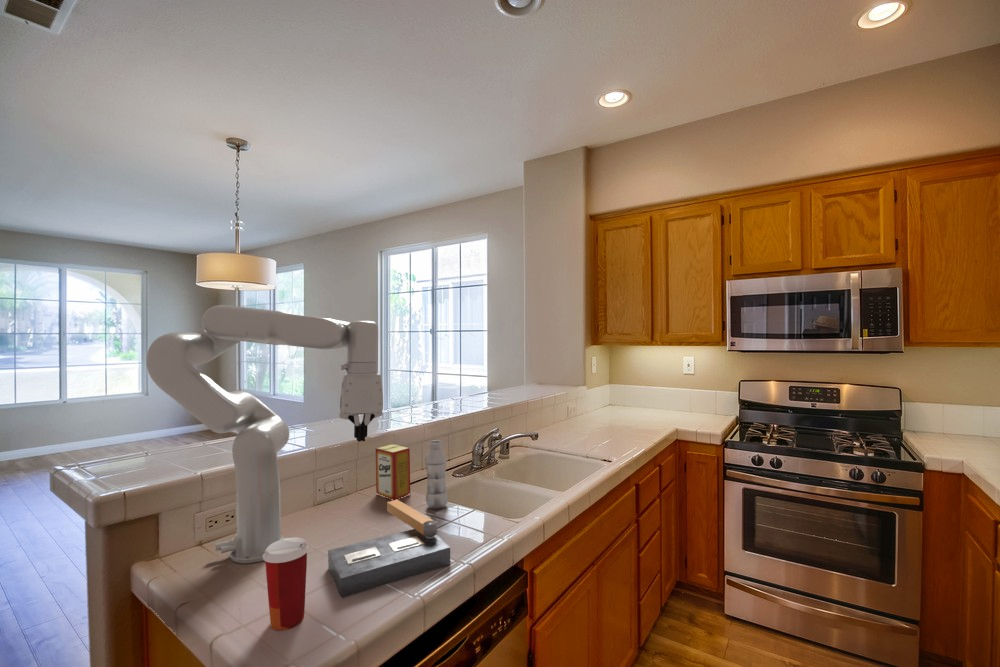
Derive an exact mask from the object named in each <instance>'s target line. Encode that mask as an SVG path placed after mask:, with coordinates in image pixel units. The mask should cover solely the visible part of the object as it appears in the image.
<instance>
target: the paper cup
mask: <svg viewBox="0 0 1000 667" xmlns="http://www.w3.org/2000/svg"><path fill="white" fill-rule="evenodd" d="M285 538H286V537H285ZM307 543H308V542H307V541H306V539H304V538H301V537H287V538H286V539H282V540H279V541H276V542H274V543H272V544H271V545H269V546H268V547H267V549H266V550H265V553H264V554H263V559H264V562H265V574H266V575H265V576H266V584H267V585H266V586H267V596H268V597H267V598H268V600H267V601H268V609H269V620H270V622H269V623H270V627H271V629H272V630H275V631H280V632H281V631H287V630H291V629H293V628H295V627H297V626H298V625H300V624H301V623H302V622H303V620H304V619H305V606H306V584H307V568H308V566H307V564H308V562H307V561H308V552H309V550H310V546H309V545H308V544H307Z"/></svg>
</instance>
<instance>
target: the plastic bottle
mask: <svg viewBox="0 0 1000 667" xmlns="http://www.w3.org/2000/svg"><path fill="white" fill-rule="evenodd" d="M428 448H429V451H428V452H427V453H426V455H425V458H424V463H425V468H426V469H425V470H426V477H427V479H426V480H427V485H426V487H427V488H426V496H425V501H426V506H428V508H430V509H433V510H434V509H435V510H436V509H437V510H438V509H443V508H445V507H446V506H447V504H448V499H449V497H448V491H447V484H446V469H447V455H446V454H445V452H444V451H443V450H442V448H443V443H442V441H441V440H431V441H429V447H428Z"/></svg>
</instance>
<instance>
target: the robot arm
mask: <svg viewBox="0 0 1000 667" xmlns="http://www.w3.org/2000/svg"><path fill="white" fill-rule="evenodd" d="M240 342H244V343H245V342H246V343H247V342H248V343H255V344H265V345H273V346H282V345H283V346H288V347H289V346H290V347H297V348H307V349H308V348H309V349H318V350H334V349H344V348H346V349H347V351H346V352H347V356H346V363H344V364H341V365H340V370H341V371H346V373H344V375H343V378H342V383H341V389H340V400H339V409H340V411H339V414H338V417H339V418H340V419H342V420H348V421H350V422H351V423H352V424H353V425H354V429H353V432H354V433H353V436H354V439H356V441H357V442H359V443H360V442H365V441H366V438H368V428H369V427H368V425H369V424H370V423H371V422H372V421H373V420H374V419H375V418H376V419H377V418H379V417H382V416H383V408H384V393H383V390H384V389H383V382H382V376H381V373H378V357H379V356H378V355H379V354H378V352H379V349H378V348H379V325H378V324H377V323H376V322H375V321H371V320H353V321H344V320H339V319H334V318H327V317H316V316H311V315H310V316H309V315H308V316H307V315H300V314H292V313H291V314H290V313H286V312H283V311H280V310H273V309H272V310H271V309H263V308H253V307H247V306H246V307H245V306H238V305H237V306H236V305H228V304H218V305H213V306H211V307H209V308H208V309H207V310H205V312H204V314H203V315H202V318H201V328H199V329H197V330H196V331H195V332H185V331H184V332H183V331H178V332H177V331H176V332H170V333H169V332H168V333H166V334H165V333H164V334H163V335H161V336H159V337H157V338H156V339H154V340H153V341H152V343H151V344H150V346H149V347H148V350H147V353H146V361H145V362H146V369H147V372H148V375H149V376H150V378H151V379H152V381H153V382H154V383H155V385H156V386H157V387H158V388H160V390H161V391H163V393H165V394H166V395H168V396H170V397H171V398H172V399H173V400H174V401H175V402H176V403H178V404H179V405H180V406H182V407H183V408H184V409H185V410H186V412H189V413H190V414H191V415H192V416H193V417H194V418H196V420H198V421H199V422H201V423H202V424H203V425H204V426H205V427H206V428H207V429H209V430H210V431H212V432H213V433H216V434H227V433H230V432H232V431H236V432H238V433H237V434H236V436H235V438H234V440H233V443H232V447H231V448H232V451H231V453H232V454H231V455H232V460H233V465H234V469H235V486H236V487H235V490H236V533H235V537H232V538H230V540H226V541H219V542H218V541H217V542H215V548H214V549H215V552H219V551H221V553H220V554H224V553H228V552H229V554H230V555H229V558H230V560H231V562H232V561H233V562H234V563H238V564H252V563H258V562H262V561H264V559H263V554H264V553H265V550H266V549H267V547H268V546H269V545H271V544H272V543H274V542H276V541H279V540H282V539H286V537H285V536H283V535H282V524H281V519H282V518H281V517H282V516H281V513H282V512H281V476H280V467H279V461H278V452H279V451H281V450H282V449H283V448H284V447H285V446H286V445H287V444H288V441H289V438H290V428H289V427H288V425H287V422H285V421H284V420H283V419H282V418H281V417H280V416H279V415H277V413H275V412H274V411H273V410H272V409H270V408H269V407H268V405H266V404H265V403H263V401H261V400H260V399H259V398H257V397H256V396H255V395H253V394H251V393H250V392H247V391H244V390H232V391H227V390H225V389H224V388H223V387H221V386H220V385H219V384H217V383H216V382H215V381H214V380H213V379H212V378H211V377H209V376H208V375H206V374H205V373H203V372H201V371H199V370H198V369H197V368H195V366H201V365H205V364H207V363H210V362H211V361H213V360H215V359H217V358H218V357H219V356H220V355H221V356H222V354H224V353H225V352H226V351H227V352H228V350H230V349H231V348H232V347H235V345H237V344H238V343H240ZM360 415H362V421H361V422H360ZM264 562H265V561H264Z"/></svg>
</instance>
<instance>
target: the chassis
mask: <svg viewBox="0 0 1000 667" xmlns="http://www.w3.org/2000/svg"><path fill="white" fill-rule="evenodd" d="M327 563H328V564H327V565H328V566H327V567H328V570H329V573H330V575H331V577H332V580H333V582H334V584H335V587H336V589H337V591H338V594H339V596H340V599H344V598H346V597H347V598H348V597H351V596H353V595H357V594H359V593H363V592H366V591H371V590H373V589H377V588H380V587H383V586H386V585H390V584H393V583H396V582H400V581H402V580H403V581H404V580H405V579H409V578H412V577H416V576H418V575H421V574H422V575H423V574H425V573H428V572H429V573H430V572H432V571H434V570H438V569H441V568H444V567H447V566H451V547H450V545H448V544H447V543H446V542H445V541H444V540H443V539H442V538H441V537H440V536H439V535H438V533H437V534H436V535H435V536H432V537H426V536H424V535H423V534H421V533H420V532H418V531H417V530H415V529H414V528H412V529H408V530H405V531H401V532H397V533H393V534H389V535H384V536H380V537H377V538H373V539H369V540H364V541H360V542H357V543H352V544H349V545H345V546H341V547H337V548H332V549H329V550H328V551H327ZM389 583H390V584H389ZM382 585H383V586H382ZM379 586H380V587H379ZM376 587H377V588H376Z"/></svg>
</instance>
